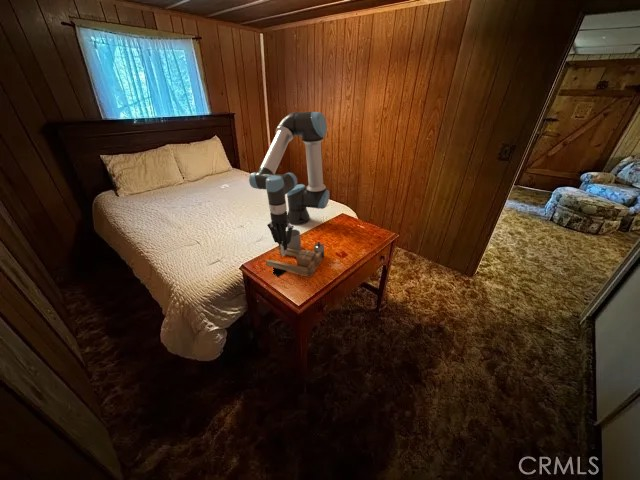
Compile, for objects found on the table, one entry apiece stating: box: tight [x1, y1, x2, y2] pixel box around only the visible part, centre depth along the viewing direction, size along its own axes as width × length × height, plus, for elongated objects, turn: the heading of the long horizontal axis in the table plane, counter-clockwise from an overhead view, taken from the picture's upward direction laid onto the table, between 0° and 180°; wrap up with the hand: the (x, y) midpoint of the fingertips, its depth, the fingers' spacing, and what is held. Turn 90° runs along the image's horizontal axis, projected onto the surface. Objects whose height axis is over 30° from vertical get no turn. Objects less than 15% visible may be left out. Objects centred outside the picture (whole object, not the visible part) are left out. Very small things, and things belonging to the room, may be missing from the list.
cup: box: [286, 228, 302, 251], centre depth 135 cm, size 8×8×10 cm
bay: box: [265, 248, 323, 278], centre depth 124 cm, size 14×24×5 cm, turn 69°
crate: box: [295, 249, 316, 268], centre depth 121 cm, size 7×7×7 cm
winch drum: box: [313, 241, 325, 259], centre depth 128 cm, size 5×5×8 cm
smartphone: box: [272, 268, 288, 278], centre depth 123 cm, size 7×1×15 cm
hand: (284, 254), depth 126 cm, fingers closed
